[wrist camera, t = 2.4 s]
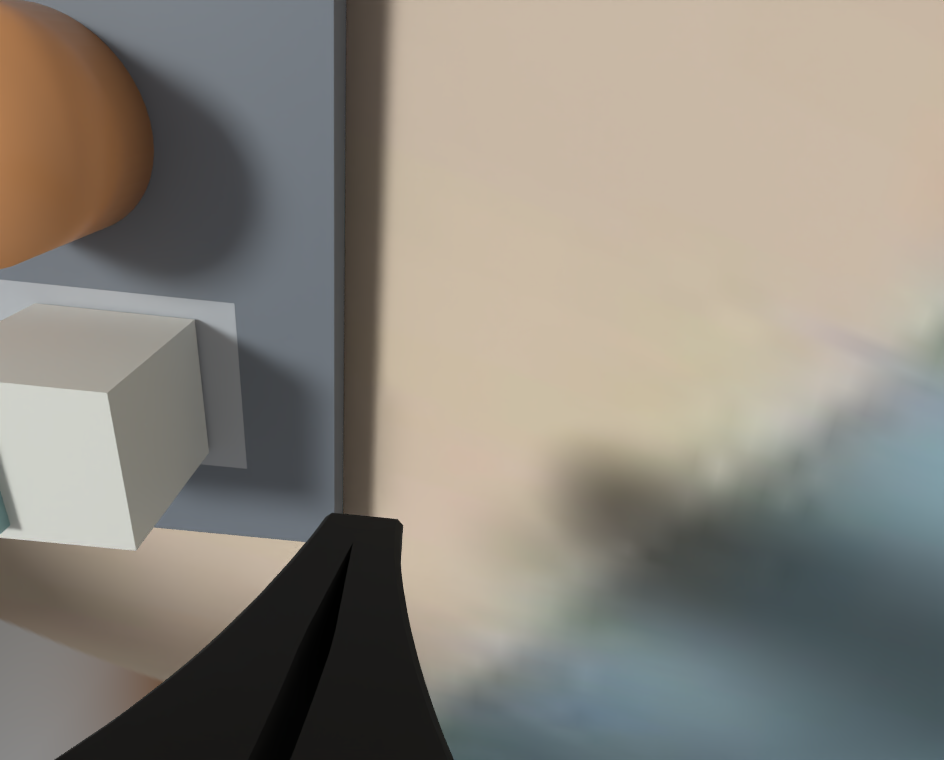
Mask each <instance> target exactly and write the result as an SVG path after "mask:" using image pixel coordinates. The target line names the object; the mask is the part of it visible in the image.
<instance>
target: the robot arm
mask: <svg viewBox="0 0 944 760" xmlns="http://www.w3.org/2000/svg"><path fill="white" fill-rule="evenodd" d="M402 533H403V525H402V524H401V522H400V521H399V520H398V519H390V518H380V517H370V516H360V515H350V514H340V513H330V514H329V515H328V516H326V517H325V518H324V520H323V521H322V522H321V524H320V525H319V526H318V528H317V529H316V530H315V532H314V533H313V534H312V535H311V537H310V538H309V539H308V540H307V542H306V543H305V544H304V545H303V546H302V548H301V549H300V550H299V551H298V552H297V554H296V555H295V556H294V557H293V558H292V559H291V561H290V562H289V563H288V564H287V565H286V566H285V567H284V568H283V570H282V571H281V572H280V573H279V574H278V575H277V576H276V577H275V578H274V579H273V581H272V582H271V583H270V584H269V585H268V586H267V587H266V588H265V589H264V590H263V591H262V593H261V594H260V595H259V596H258V597H257V598H256V599H255V600H254V601H253V602H252V603H251V604H250V605H249V606H248V607H247V608H246V609H245V610H244V611H243V612H242V613H241V614H240V615H239V616H237V617H236V618H235V619H234V620H233V621H232V622H231V623H230V624H229V625H228V626H227V627H226V628H225V629H224V630H223V631H222V632H221V633H220V634H219V635H218V636H217V637H216V638H214V639H213V640H212V641H211V642H210V643H209V644H208V645H207V646H206V647H205V648H203V649H202V650H201V651H200V652H199V653H198V654H197V655H195V656H194V657H193V658H192V659H191V660H189V661H188V662H187V663H186V664H185V665H184V666H182V667H181V668H180V669H179V670H178V671H176V672H175V673H174V674H173V675H172V676H170V677H169V678H168V679H167V680H165V681H164V682H163V683H161V684H160V685H159V686H158V687H156V688H155V689H154V690H152V691H151V692H150V693H149V694H147V695H146V696H145V697H143V698H142V699H141V700H140V701H138V702H137V703H136V704H134V705H133V706H132V707H130V708H129V709H128V710H126V711H125V712H124V713H122V714H121V715H120V716H118V717H117V718H116V719H114V720H113V721H111V722H110V723H108V724H107V725H106V726H104V727H103V728H101V729H100V730H98V731H97V732H95V733H94V734H92V735H91V736H89V737H88V738H86V739H85V740H83V741H82V742H80V743H79V744H77V745H76V746H74V747H73V748H71V749H70V750H68V751H67V752H65V753H64V754H63V755H61V756H59V757H58V758H56V759H55V760H454V759H453V757H452V754H451V752H450V750H449V747H448V745H447V742H446V740H445V738H444V735H443V733H442V730H441V727H440V724H439V722H438V719H437V716H436V713H435V711H434V708H433V705H432V702H431V699H430V696H429V693H428V690H427V687H426V684H425V680H424V677H423V674H422V670H421V667H420V663H419V660H418V656H417V652H416V648H415V644H414V640H413V636H412V632H411V628H410V623H409V618H408V613H407V607H406V601H405V595H404V589H403V582H402V574H401V550H402Z"/></svg>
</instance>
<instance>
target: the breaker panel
mask: <svg viewBox="0 0 944 760" xmlns="http://www.w3.org/2000/svg"><path fill="white" fill-rule="evenodd" d="M24 1H29V2H35V3H38V4H41V5H44V6H48V7H51V8H53V9H55V10H57V11H60V12H62V13H64V14H66V15H68V16H70V17H71V18H73V19H74V20H76V21H78V22H79V23H81V24H82V25H84V26H85V27H86V28H88V29H89V30H90V31H91V32H93V33H94V34H95V35H97V36H98V37H99V38H100V39H101V40H102V41H103V42H104V43H105V44H106V45H107V46H108V47H109V48H110V49H111V50H112V52H113V53H114V54H115V55H116V56H117V57H118V59H119V60H120V61H121V62H122V64H123V65H124V67H125V68H126V70H127V71H128V72H129V74H130V75H131V77H132V79H133V81H134V82H135V84H136V86H137V88H138V90H139V92H140V94H141V96H142V99H143V101H144V103H145V106H146V109H147V112H148V116H149V119H150V123H151V128H152V134H153V144H154V158H153V168H152V172H151V177H150V180H149V183H148V186H147V189H146V191H145V193H144V195H143V196H142V198H141V200H140V201H139V203H138V204H137V205H136V206H135V208H134V209H133V210H132V211H131V212H130V213H129V214H128V215H127V216H126V217H124V218H123V219H121V220H120V221H118V222H117V223H115V224H113V225H111V226H109V227H106V228H104V229H102V230H99V231H97V232H94V233H92V234H89V235H87V236H84V237H82V238H80V239H77V240H75V241H72V242H70V243H67V244H65V245H62V246H60V247H58V248H55V249H53V250H50V251H48V252H45V253H43V254H41V255H38V256H36V257H33V258H31V259H28V260H26V261H23V262H21V263H19V264H16V265H14V266H11V267H7V268H3V269H0V321H1V320H3V319H5V318H7V317H9V316H11V315H13V314H15V313H17V312H19V311H21V310H23V309H25V308H27V307H29V306H31V305H33V304H35V303H38V304H47V305H57V306H67V307H77V308H87V309H97V310H106V311H116V312H126V313H136V314H146V315H156V316H165V317H175V318H185V319H195V327H196V337H197V346H198V355H199V365H200V374H201V383H202V392H203V402H204V411H205V420H206V430H207V439H208V448H209V453H208V454H207V456H206V457H205V459H204V460H203V461H202V463H201V464H200V465H199V467H198V468H197V469H196V471H195V472H194V473H193V475H192V476H191V477H190V479H189V480H188V481H187V483H186V484H185V486H184V487H183V488H182V490H181V491H180V492H179V494H178V495H177V496H176V498H175V499H174V500H173V502H172V503H171V504H170V506H169V507H168V508H167V510H166V511H165V512H164V514H163V515H162V517H161V518H160V519H159V521H158V522H157V523H156V525H155V526H154V527H156V528H166V529H177V530H187V531H198V532H208V533H218V534H229V535H239V536H250V537H260V538H270V539H281V540H291V541H301V542H307V540H308V539H309V538H310V537H311V535H312V534H313V533H314V532H315V530H316V529H317V528H318V526H319V525H320V524H321V522H322V521H323V520H324V518H325V517H326V516H328V515H329V514H330V513H340V514H343V425H344V270H345V114H346V0H24Z"/></svg>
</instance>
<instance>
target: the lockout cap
mask: <svg viewBox="0 0 944 760" xmlns="http://www.w3.org/2000/svg"><path fill="white" fill-rule="evenodd" d="M153 158H154V144H153V134H152V128H151V123H150V119H149V116H148V112H147V109H146V106H145V103H144V101H143V99H142V96H141V94H140V92H139V90H138V88H137V86H136V84H135V82H134V81H133V79H132V77H131V75H130V74H129V72H128V71H127V70H126V68H125V67H124V65H123V64H122V62H121V61H120V60H119V59H118V57H117V56H116V55H115V54H114V53H113V52H112V50H111V49H110V48H109V47H108V46H107V45H106V44H105V43H104V42H103V41H102V40H101V39H100V38H99V37H98V36H97V35H95V34H94V33H93V32H91V31H90V30H89V29H88V28H86V27H85V26H84V25H82V24H81V23H79V22H78V21H76V20H74V19H73V18H71V17H70V16H68V15H66V14H64V13H62V12H60V11H57V10H55V9H53V8H51V7H48V6H44V5H41V4H38V3H35V2H29V1H24V0H0V269H3V268H7V267H11V266H14V265H16V264H19V263H21V262H23V261H26V260H28V259H31V258H33V257H36V256H38V255H41V254H43V253H45V252H48V251H50V250H53V249H55V248H58V247H60V246H62V245H65V244H67V243H70V242H72V241H75V240H77V239H80V238H82V237H84V236H87V235H89V234H92V233H94V232H97V231H99V230H102V229H104V228H106V227H109V226H111V225H113V224H115V223H117V222H118V221H120V220H121V219H123V218H124V217H126V216H127V215H128V214H129V213H130V212H131V211H132V210H133V209H134V208H135V206H136V205H137V204H138V203H139V201H140V200H141V198H142V196H143V195H144V193H145V191H146V189H147V186H148V183H149V180H150V177H151V172H152V168H153Z"/></svg>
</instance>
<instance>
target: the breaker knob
mask: <svg viewBox="0 0 944 760" xmlns="http://www.w3.org/2000/svg"><path fill="white" fill-rule="evenodd" d="M208 453H209V448H208V439H207V430H206V420H205V411H204V402H203V392H202V383H201V374H200V365H199V355H198V346H197V337H196V327H195V319H185V318H175V317H165V316H156V315H146V314H136V313H126V312H116V311H106V310H97V309H87V308H77V307H67V306H57V305H47V304H38V303H35V304H33V305H31V306H29V307H27V308H25V309H23V310H21V311H19V312H17V313H15V314H13V315H11V316H9V317H7V318H5V319H3V320H1V321H0V538H8V539H19V540H29V541H40V542H50V543H61V544H71V545H82V546H92V547H103V548H113V549H123V550H134V551H136V550H137V549H138V548H139V546H140V545H141V544H142V542H143V541H144V539H145V538H146V537H147V535H148V534H149V533H150V531H151V530H152V529H153V527H154V526H155V525H156V523H157V522H158V521H159V519H160V518H161V517H162V515H163V514H164V512H165V511H166V510H167V508H168V507H169V506H170V504H171V503H172V502H173V500H174V499H175V498H176V496H177V495H178V494H179V492H180V491H181V490H182V488H183V487H184V486H185V484H186V483H187V481H188V480H189V479H190V477H191V476H192V475H193V473H194V472H195V471H196V469H197V468H198V467H199V465H200V464H201V463H202V461H203V460H204V459H205V457H206V456H207V454H208Z"/></svg>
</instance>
